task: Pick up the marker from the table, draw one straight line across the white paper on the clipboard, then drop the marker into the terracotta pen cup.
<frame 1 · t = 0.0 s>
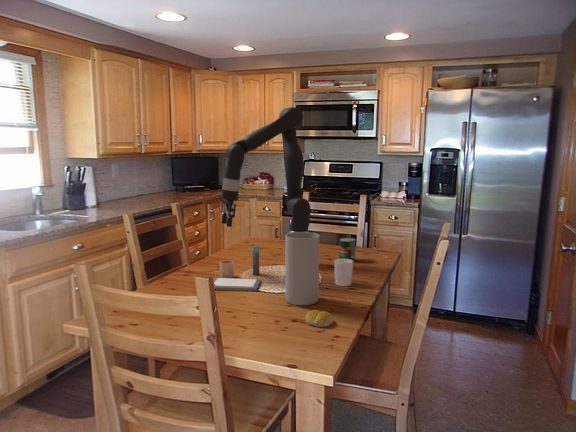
hand: (226, 225, 196), 22 cm above the table, tool pointing down, fingers open, 8 cm apart
bread roll: (319, 323, 143), on the table
cylinder vase: (301, 300, 164), on the table
pen cup: (227, 277, 193), on the table
canned tomato: (346, 260, 222), on the table
marker: (256, 274, 197), on the table
white cup: (343, 284, 184), on the table
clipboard: (234, 285, 181), on the table
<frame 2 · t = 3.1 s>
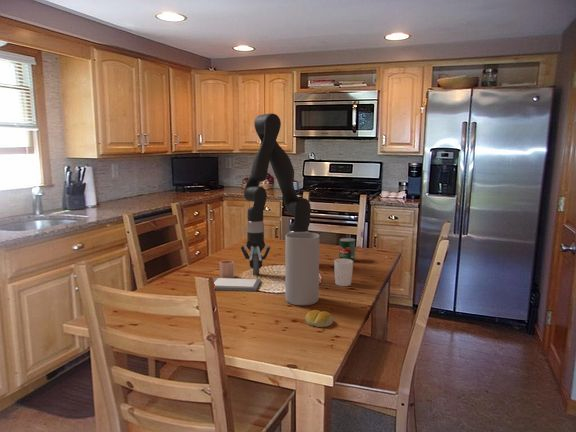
hand: (255, 267, 197), 3 cm above the table, tool pointing down, fingers closed on marker, 3 cm apart
marker: (256, 274, 197), on the table, touching gripper
everything else where it was.
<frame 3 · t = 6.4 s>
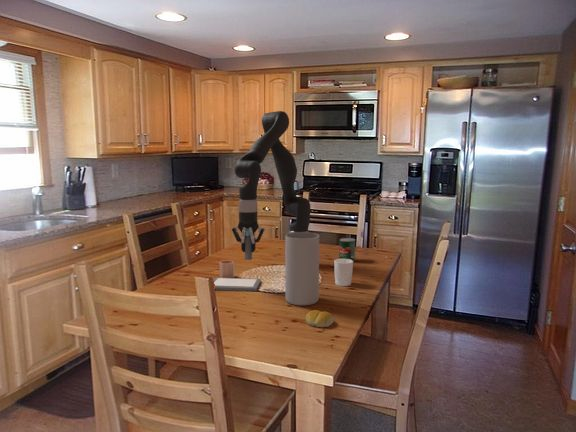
hand: (248, 251, 178), 15 cm above the table, tool pointing down, fingers closed on marker, 3 cm apart
marker: (248, 258, 179), point 12 cm above the table, touching gripper
everything else where it was.
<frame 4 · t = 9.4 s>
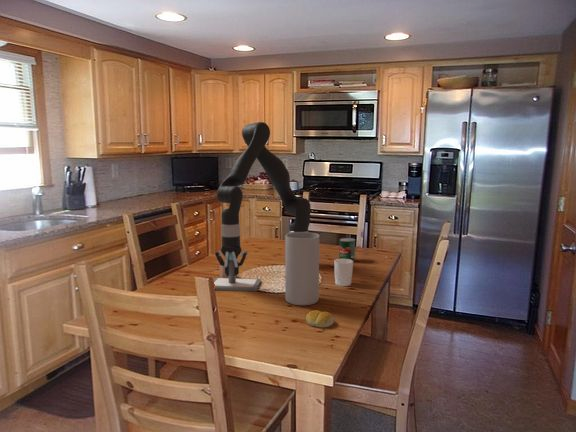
hand: (231, 275, 180), 5 cm above the table, tool pointing down, fingers closed on marker, 3 cm apart
marker: (232, 282, 181), point 1 cm above the table, touching gripper
everything else where it was.
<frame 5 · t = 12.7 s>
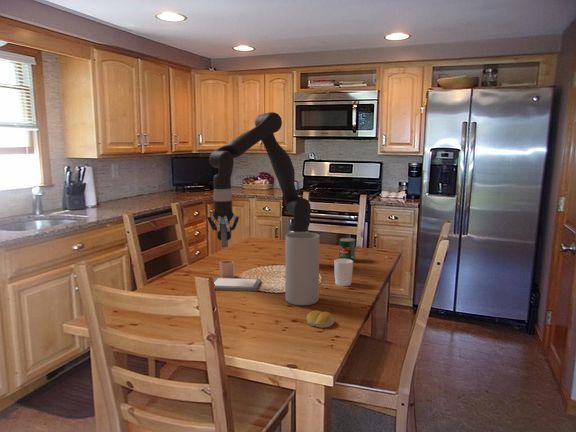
hand: (224, 239, 184), 18 cm above the table, tool pointing down, fingers closed on marker, 3 cm apart
marker: (224, 246, 184), point 15 cm above the table, touching gripper
everything else where it was.
when the fingers open (8 cm above the table, at t = 15.5 s): marker drops 5 cm, resting on pen cup.
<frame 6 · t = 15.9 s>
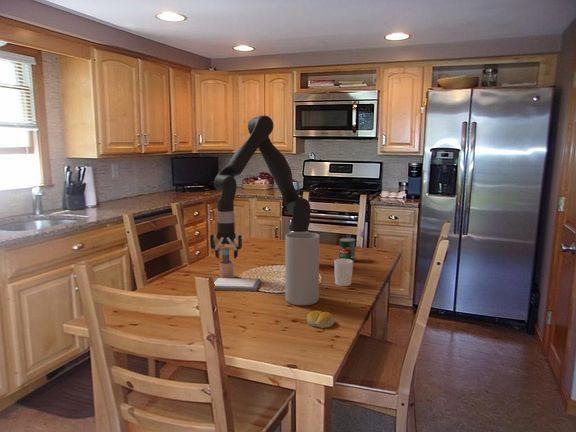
hand: (226, 257, 191), 9 cm above the table, tool pointing down, fingers open, 7 cm apart
marker: (226, 276, 193), point 1 cm above the table, touching pen cup
everything else where it was.
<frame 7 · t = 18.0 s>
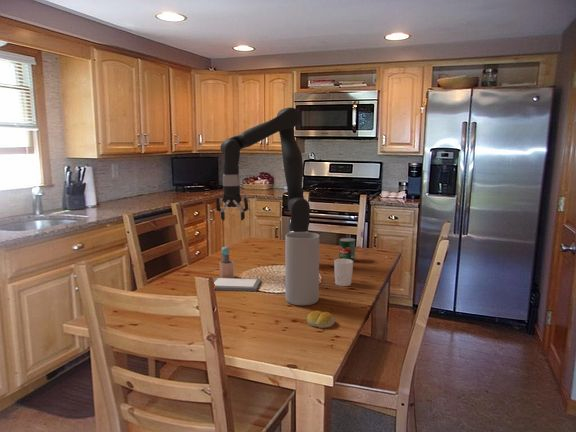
hand: (232, 220, 197), 24 cm above the table, tool pointing down, fingers open, 8 cm apart
nothing on the table moved.
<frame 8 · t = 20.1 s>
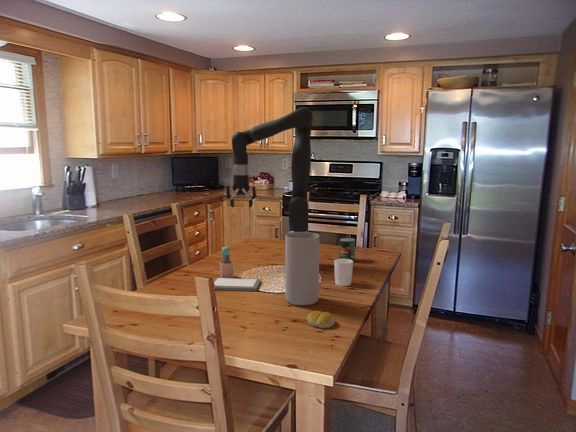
hand: (241, 207, 212), 28 cm above the table, tool pointing down, fingers open, 8 cm apart
at the end: marker 0.1 cm off-centre on the pen cup, point 0.5 cm above the pen cup's base; marker tilted 2°; the gripper is holding nothing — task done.
